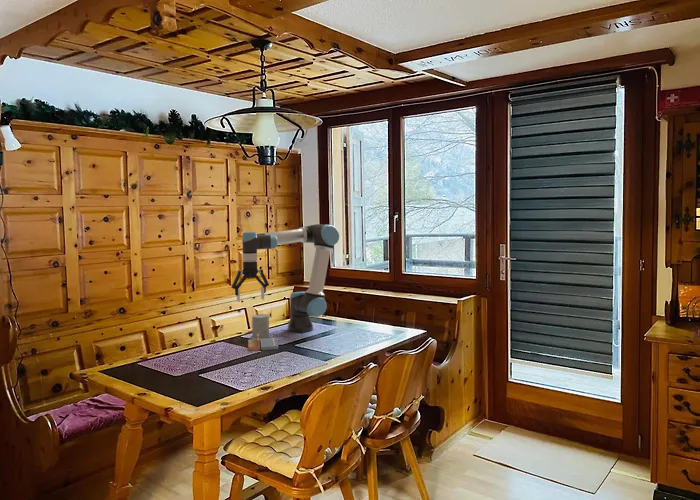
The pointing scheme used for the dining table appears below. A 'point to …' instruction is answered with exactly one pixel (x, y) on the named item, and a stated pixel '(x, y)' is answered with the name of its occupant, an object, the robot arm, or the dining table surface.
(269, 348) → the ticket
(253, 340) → the olive stub
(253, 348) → the terracotta stub
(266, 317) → the grey cylinder
